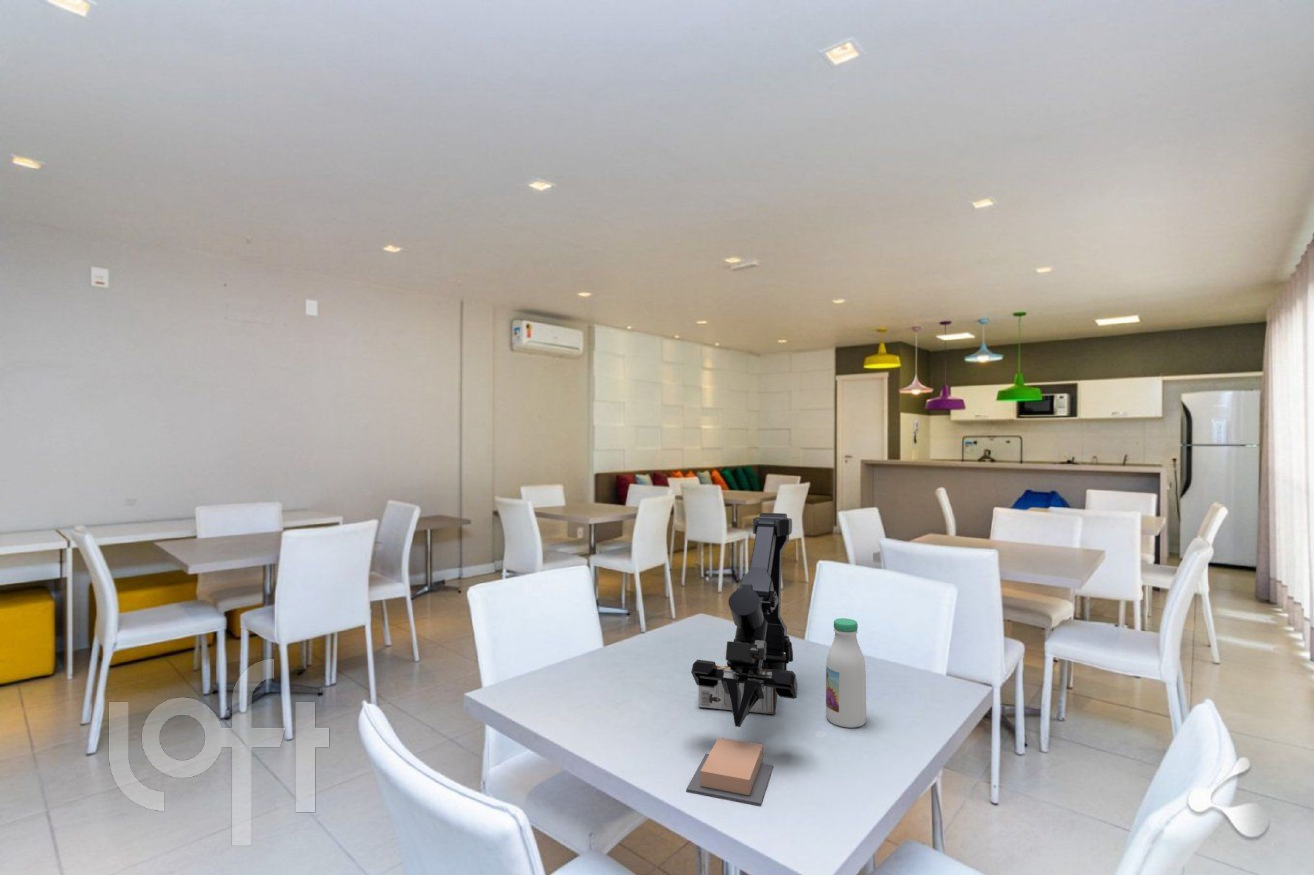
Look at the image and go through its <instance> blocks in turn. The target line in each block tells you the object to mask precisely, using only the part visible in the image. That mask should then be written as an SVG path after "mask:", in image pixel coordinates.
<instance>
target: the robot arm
mask: <svg viewBox="0 0 1314 875" xmlns="http://www.w3.org/2000/svg"><path fill="white" fill-rule="evenodd" d="M792 531H793V518H788V514H787V513H784V512H781V513H779V512H759V516H755V517H753V518H752V534H753V535H755V538H754V543H753V548H752V555H751V560H750V565H749V571H748V572H746V573H745V574H744V575H743V576H742V577H741V580H740V585H739V588H736V590H735V591H733V592H732V593H731V594H730V596H729V597H728V606H729V610H730V613H731V617H732V620H733V623H734V625H735V626H736V629H735V636H734V639H733V640H731V641H726V649H725V650H726V652H725V661H726V666H728V667H730V670H729V669H723V670H721V669H717V667H716V662H715V661H712V660H703V659H696V660H695V661H694V662H693V664H692V667H691V672H690V673H691V674H692V675H691V676H692V677H693V680H694V682H695V683H696V685H697V686H698V687H699V686H702V687H709V688H714V687H715V686H717V685H718V681H719V680H720V681H721V683H722V686H723V688H724V691H725V693H726V694H730V698H731V703H732V710H731V711H732V715H733V721H734V726H735V727H736V728H740V727H741V726H742V725H743V723H744V721H745V719H746V717H747V716H748V714H749V713H750V712H749V711H750V710H751V708H752V707H753V706H754V705H755V703H756V702H757V701H758V700H759V699H764V697H765V695H764V689H765V686H766V687H773V688H776V690H775V691H776V693H777V697H779V698H786V699H791V700H794V699H797V698H798V682H797V675H796V674H795V672H794V671H793V670H789V669H788V670H787V668H788V667H787V666H788V665H787V664H790V663H791V662H793V661H794V651H793V643H792V641H791V640H790V636H789V635H788V628H787V625H786V624H785V621H784V619H783V618H782V616H781V604H782V603H781V602H782V568H783V567H782V565H783V562H782V559H783V551H784V549H785V548H786V547H787V545H788V543H789V541H790V535H791V534H792ZM761 669H770V670H773V671H772V676H770V675H762V674H761ZM740 683H743V684H744V692H743V697H742V701H741V691H740V688H739V686H740Z"/></svg>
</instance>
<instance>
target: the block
mask: <svg viewBox="0 0 1314 875" xmlns="http://www.w3.org/2000/svg"><path fill="white" fill-rule="evenodd" d="M714 743H715V744H714V745H713V747H712V749H711V750H710V753H708V754H709V756H708V758H707V760H706V761H705V763H704V765H703V767H702V769H701V771H700V786H702V787H707V788H712V789H717V790H722V791H728V792H733V793H738V794H743V795H748V796H749V795H750V792H751V790H752V787H753V784H754V781H755V779H756V776H757V773H758V770H759V768H760V765H761V763H763V759H764V744H760V743H754V742H749V741H742V740H737V739H730V738H725V737H724V738H723V737H718V738H717V739H716V741H715V742H714Z"/></svg>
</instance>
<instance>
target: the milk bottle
mask: <svg viewBox="0 0 1314 875" xmlns="http://www.w3.org/2000/svg"><path fill="white" fill-rule="evenodd" d="M858 626H859V624H858V622H857V621H856V620H854V619H851V618H844V617H842V618H835V619H834V620H833V628H834V629H833V631H834V638H833V642H832V644H831V645H830V648H829V649H828V652H827V656H826V665H825V714H826V715H825V716H826V718H827V720H828V722H830V723H831V724H833V725H835V726H838V727H843V728H850V729H851V728H852V729H853V728H860V727H862V726H864V725H865V724H866V722H867V674H866V672H867V671H866V660H865V656H864V654H863V651H862V649H861V648H860V645H859V642H858V638H857V634H858Z"/></svg>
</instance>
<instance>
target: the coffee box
mask: <svg viewBox="0 0 1314 875" xmlns="http://www.w3.org/2000/svg"><path fill="white" fill-rule="evenodd" d="M716 667H717V669H721V670H723V669H729V670H730V667H728V666H727V665H716ZM772 671H773V670H770V669H761V674H762V675H770V676H772ZM739 688H740V691H741V701H742V697H743V692H744V684H743V683H740V686H739ZM775 690H776V688H773V687H766V686H765V689H764V695H765V697H764V699H759V700H758V701H757V702H756V703H755V705H754V706H753V707H752V708H751V710H750V711H749V713H757V714H758V713H760V714H768V715H769V714H771V715H776V710H777V703H778V702H777V700H778V694H777V693H776V691H775ZM698 707H699V708H705V709H706V708H707V709H718V710H727V711H728V710H729V711H733V710H732V703H731V698H730V694H726V693H725V691H724V688H723V686H722V683H721V681H720V680H719V681H718V685H717V686H715V687H714V688H709V687H702V686H699V685H698Z"/></svg>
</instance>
